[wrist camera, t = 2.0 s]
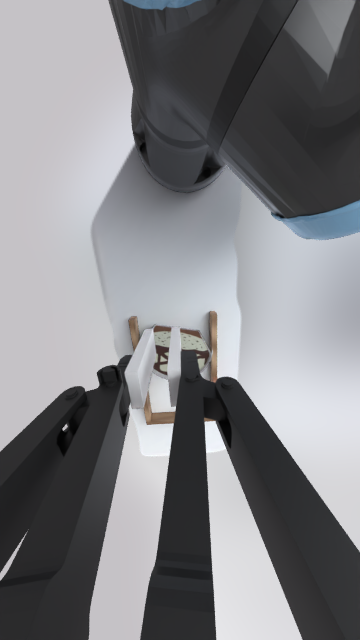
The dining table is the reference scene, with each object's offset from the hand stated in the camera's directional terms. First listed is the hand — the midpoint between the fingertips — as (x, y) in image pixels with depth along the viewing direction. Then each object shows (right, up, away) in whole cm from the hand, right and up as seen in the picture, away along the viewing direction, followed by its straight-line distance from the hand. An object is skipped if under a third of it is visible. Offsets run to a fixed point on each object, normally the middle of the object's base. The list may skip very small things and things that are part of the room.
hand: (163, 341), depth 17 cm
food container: (+1, -2, +22) cm, 22 cm away
